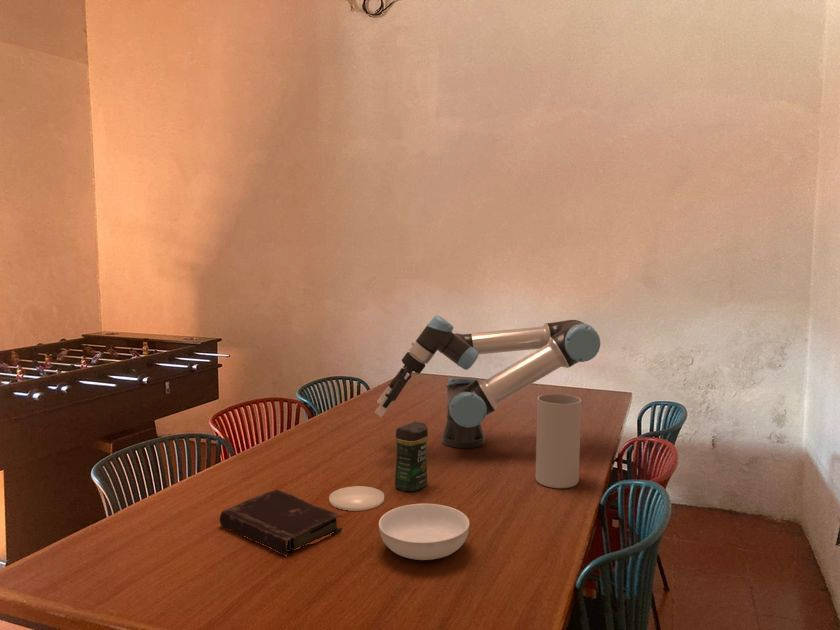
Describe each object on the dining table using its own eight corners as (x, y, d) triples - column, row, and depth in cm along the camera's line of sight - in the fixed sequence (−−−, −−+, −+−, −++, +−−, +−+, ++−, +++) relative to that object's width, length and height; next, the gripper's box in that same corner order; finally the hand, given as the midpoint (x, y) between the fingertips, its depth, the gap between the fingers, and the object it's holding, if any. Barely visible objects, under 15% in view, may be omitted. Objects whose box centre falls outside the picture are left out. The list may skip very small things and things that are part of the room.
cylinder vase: (580, 476, 201) (583, 395, 198) (576, 491, 189) (578, 405, 186) (539, 472, 205) (541, 392, 202) (532, 486, 193) (534, 402, 190)
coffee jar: (413, 494, 186) (413, 430, 184) (390, 488, 191) (390, 425, 189) (432, 484, 194) (432, 422, 192) (409, 478, 199) (410, 418, 197)
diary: (285, 560, 150) (284, 539, 149) (219, 530, 165) (218, 510, 165) (344, 531, 164) (344, 512, 163) (279, 505, 180) (278, 487, 179)
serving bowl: (377, 531, 163) (377, 504, 163) (462, 528, 165) (462, 501, 164) (379, 573, 143) (379, 543, 142) (476, 570, 144) (476, 540, 144)
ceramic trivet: (385, 489, 190) (385, 486, 190) (382, 511, 175) (382, 507, 175) (332, 489, 190) (332, 486, 190) (325, 510, 175) (325, 507, 175)
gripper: (408, 345, 229) (372, 393, 231) (407, 358, 205) (367, 412, 206) (425, 357, 230) (389, 406, 232) (427, 372, 205) (386, 426, 207)
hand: (379, 409), depth 219 cm, fingers open, 13 cm apart
